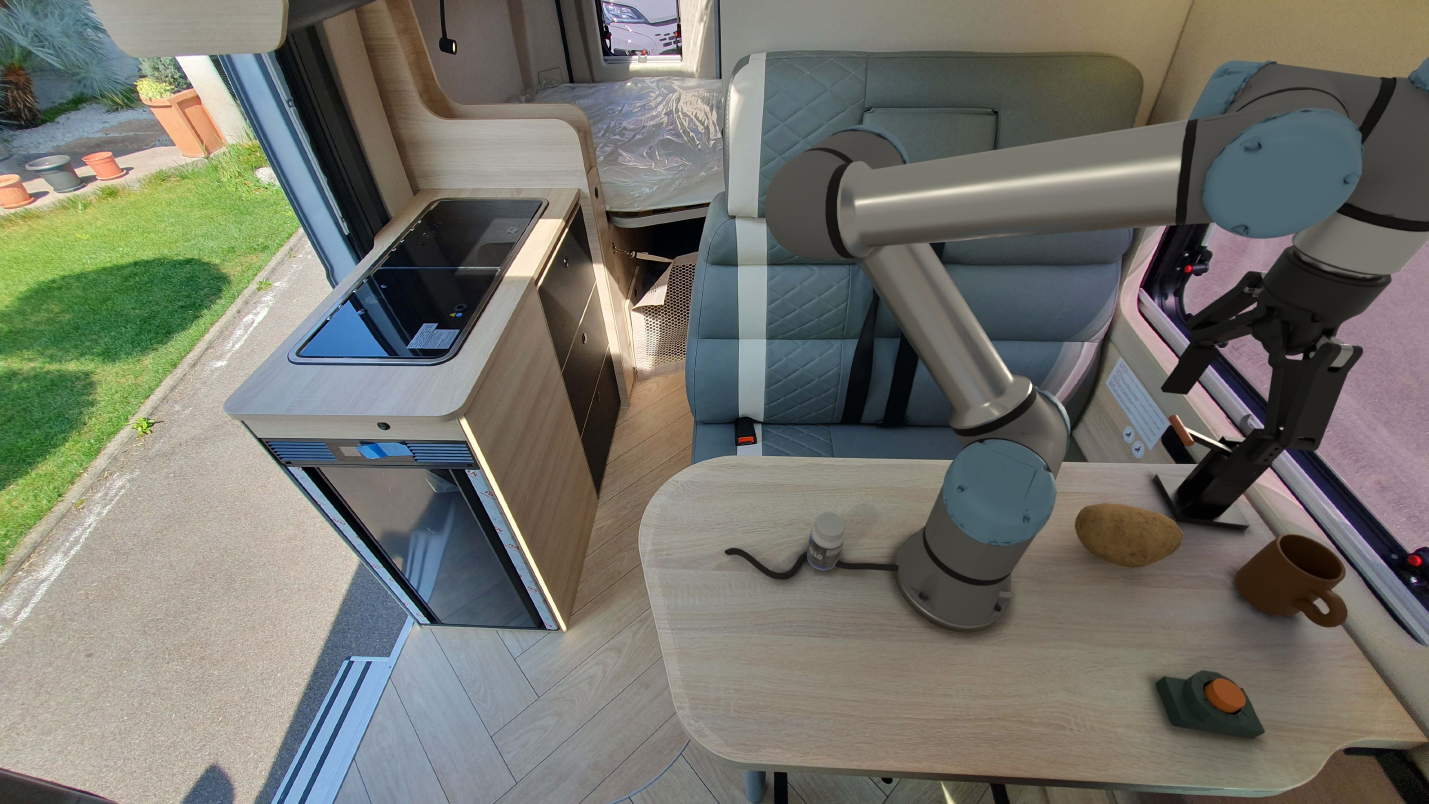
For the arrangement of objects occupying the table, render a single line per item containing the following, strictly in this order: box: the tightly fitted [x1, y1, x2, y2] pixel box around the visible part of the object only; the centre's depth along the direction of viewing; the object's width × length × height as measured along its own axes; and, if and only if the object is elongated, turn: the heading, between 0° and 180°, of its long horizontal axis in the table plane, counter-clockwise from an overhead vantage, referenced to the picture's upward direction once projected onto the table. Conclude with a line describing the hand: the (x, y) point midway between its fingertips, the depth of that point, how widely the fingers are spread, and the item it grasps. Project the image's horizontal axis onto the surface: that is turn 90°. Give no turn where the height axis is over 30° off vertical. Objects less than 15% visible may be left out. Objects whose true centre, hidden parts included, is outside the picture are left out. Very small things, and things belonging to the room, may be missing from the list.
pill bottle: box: [806, 511, 846, 571], centre depth 82 cm, size 5×5×8 cm
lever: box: [1168, 414, 1239, 460], centre depth 85 cm, size 13×6×2 cm, turn 81°
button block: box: [1154, 669, 1266, 740], centre depth 69 cm, size 9×6×4 cm
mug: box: [1234, 533, 1349, 629], centre depth 77 cm, size 12×8×9 cm, turn 172°
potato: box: [1074, 502, 1184, 569], centre depth 84 cm, size 10×14×8 cm
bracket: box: [1153, 435, 1273, 531], centre depth 89 cm, size 10×9×13 cm
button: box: [1205, 679, 1246, 713], centre depth 67 cm, size 3×3×2 cm
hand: (1199, 431), depth 65 cm, fingers open, 13 cm apart
